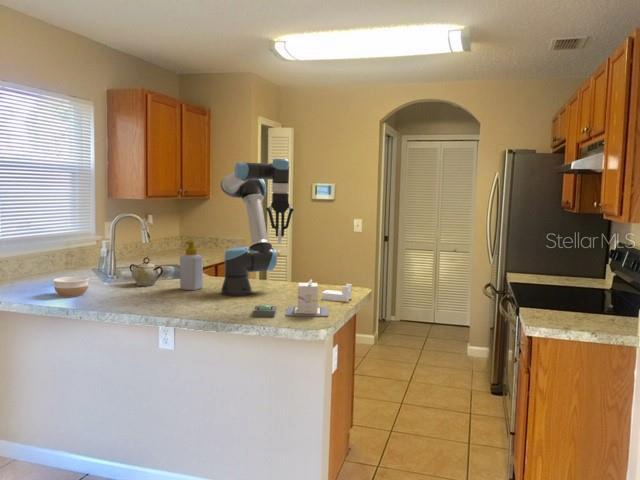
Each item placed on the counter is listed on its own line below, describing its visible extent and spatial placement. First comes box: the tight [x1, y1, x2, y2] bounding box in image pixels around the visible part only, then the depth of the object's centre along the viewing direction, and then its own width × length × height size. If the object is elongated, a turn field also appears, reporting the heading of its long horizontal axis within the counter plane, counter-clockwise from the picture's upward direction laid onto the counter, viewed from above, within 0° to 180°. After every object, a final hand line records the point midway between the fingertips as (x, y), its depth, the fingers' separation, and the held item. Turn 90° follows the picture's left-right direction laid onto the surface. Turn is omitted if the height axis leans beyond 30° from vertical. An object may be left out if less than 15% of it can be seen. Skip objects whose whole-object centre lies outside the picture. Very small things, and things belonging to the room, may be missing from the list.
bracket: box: [321, 283, 353, 302], centre depth 259 cm, size 13×7×8 cm, turn 70°
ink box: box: [297, 278, 319, 313], centre depth 231 cm, size 9×8×13 cm
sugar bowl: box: [129, 256, 164, 287], centre depth 288 cm, size 20×15×15 cm
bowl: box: [52, 275, 90, 298], centre depth 259 cm, size 16×16×8 cm
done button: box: [258, 303, 272, 310], centre depth 226 cm, size 5×5×3 cm
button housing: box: [252, 305, 277, 318], centre depth 227 cm, size 9×9×2 cm
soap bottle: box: [179, 240, 204, 291], centre depth 277 cm, size 9×9×25 cm
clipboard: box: [285, 305, 329, 318], centre depth 232 cm, size 18×16×1 cm
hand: (279, 243), depth 247 cm, fingers closed
